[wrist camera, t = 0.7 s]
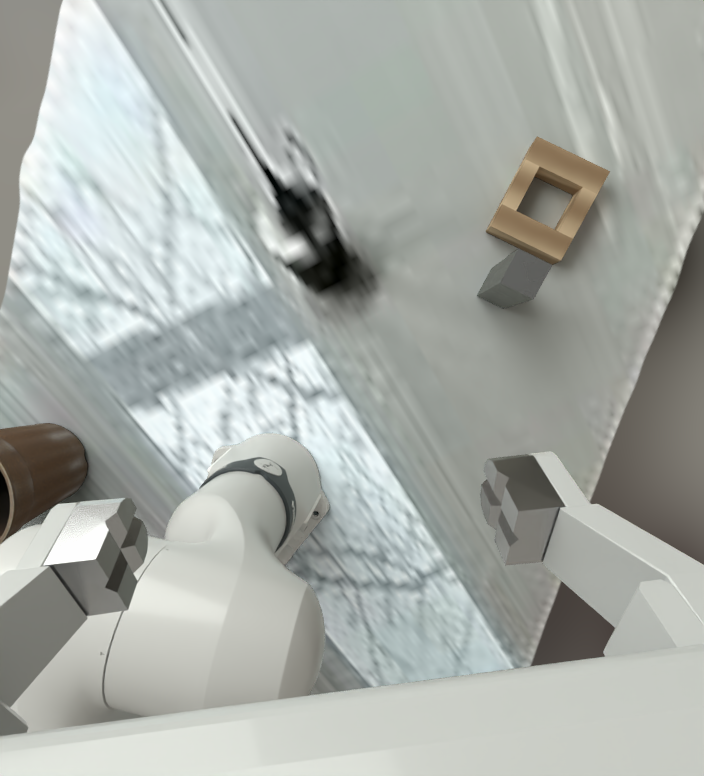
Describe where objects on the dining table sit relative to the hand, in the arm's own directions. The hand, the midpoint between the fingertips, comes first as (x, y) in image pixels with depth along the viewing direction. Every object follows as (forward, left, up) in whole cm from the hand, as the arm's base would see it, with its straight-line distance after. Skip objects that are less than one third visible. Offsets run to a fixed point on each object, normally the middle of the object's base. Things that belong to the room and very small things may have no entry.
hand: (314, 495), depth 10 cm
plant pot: (-36, +38, -53) cm, 75 cm away
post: (+17, -10, -53) cm, 57 cm away
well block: (+29, -10, -53) cm, 61 cm away
